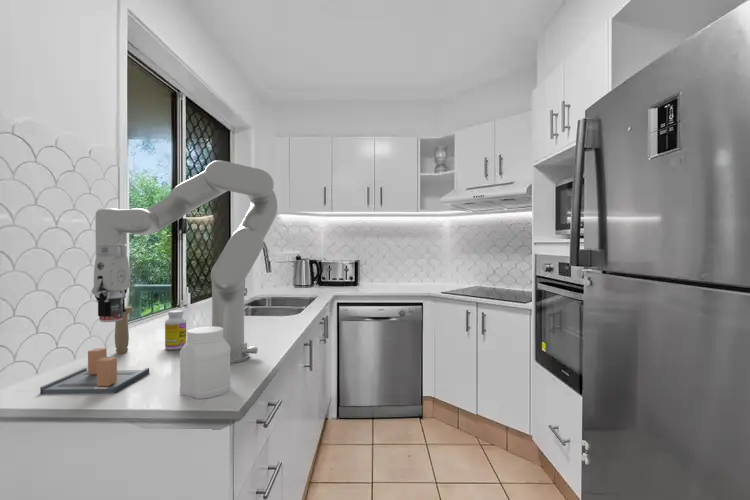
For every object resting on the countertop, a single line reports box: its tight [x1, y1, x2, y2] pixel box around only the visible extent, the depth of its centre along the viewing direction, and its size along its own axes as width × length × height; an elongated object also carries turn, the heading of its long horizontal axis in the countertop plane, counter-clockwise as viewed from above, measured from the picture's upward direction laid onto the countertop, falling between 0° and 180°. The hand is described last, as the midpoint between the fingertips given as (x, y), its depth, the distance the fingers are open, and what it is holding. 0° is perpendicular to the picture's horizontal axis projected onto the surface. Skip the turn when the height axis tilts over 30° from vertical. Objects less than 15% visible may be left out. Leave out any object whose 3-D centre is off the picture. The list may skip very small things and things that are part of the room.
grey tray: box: [39, 367, 150, 395], centre depth 106 cm, size 18×15×2 cm
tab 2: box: [97, 356, 118, 386], centre depth 101 cm, size 3×3×6 cm
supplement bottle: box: [164, 309, 187, 351], centre depth 141 cm, size 7×7×13 cm
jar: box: [179, 326, 232, 400], centre depth 100 cm, size 12×10×15 cm
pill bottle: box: [98, 289, 123, 323], centre depth 117 cm, size 6×6×10 cm
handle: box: [114, 305, 134, 354], centre depth 135 cm, size 5×6×15 cm
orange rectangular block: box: [87, 347, 108, 374], centre depth 110 cm, size 3×3×6 cm
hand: (111, 313), depth 117 cm, fingers closed on pill bottle, 5 cm apart
